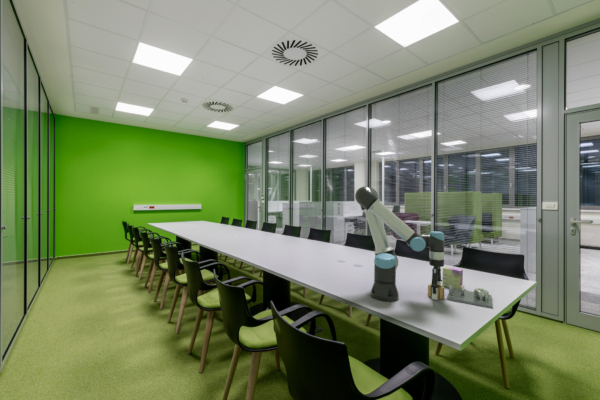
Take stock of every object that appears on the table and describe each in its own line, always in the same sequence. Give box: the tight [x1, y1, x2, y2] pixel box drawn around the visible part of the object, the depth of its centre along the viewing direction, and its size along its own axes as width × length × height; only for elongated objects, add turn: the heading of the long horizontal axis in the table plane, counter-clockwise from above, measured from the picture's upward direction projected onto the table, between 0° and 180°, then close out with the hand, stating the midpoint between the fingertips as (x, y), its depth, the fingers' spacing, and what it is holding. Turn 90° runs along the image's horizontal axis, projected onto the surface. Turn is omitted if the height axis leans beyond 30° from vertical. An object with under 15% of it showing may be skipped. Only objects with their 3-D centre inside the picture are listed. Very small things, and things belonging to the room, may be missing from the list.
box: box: [441, 266, 464, 290], centre depth 175 cm, size 10×6×12 cm, turn 47°
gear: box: [427, 283, 445, 300], centre depth 156 cm, size 8×8×6 cm
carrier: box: [446, 284, 493, 309], centre depth 155 cm, size 21×21×6 cm
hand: (436, 295), depth 156 cm, fingers open, 13 cm apart
